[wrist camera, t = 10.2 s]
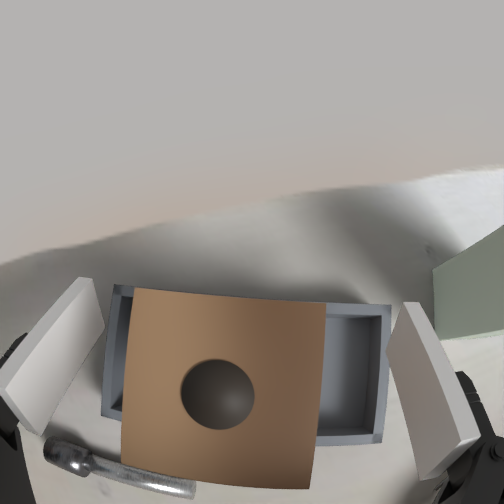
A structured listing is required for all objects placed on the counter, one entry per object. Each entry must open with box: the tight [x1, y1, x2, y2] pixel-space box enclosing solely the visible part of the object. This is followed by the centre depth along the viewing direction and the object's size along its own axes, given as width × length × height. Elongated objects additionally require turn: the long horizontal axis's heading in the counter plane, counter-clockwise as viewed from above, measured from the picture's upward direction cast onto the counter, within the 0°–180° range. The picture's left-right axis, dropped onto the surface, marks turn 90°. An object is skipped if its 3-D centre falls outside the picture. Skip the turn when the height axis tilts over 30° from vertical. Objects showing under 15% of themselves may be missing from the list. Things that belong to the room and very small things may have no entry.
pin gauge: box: [43, 436, 196, 500], centre depth 15 cm, size 10×2×2 cm, turn 85°
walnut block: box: [121, 288, 326, 489], centre depth 12 cm, size 5×5×11 cm
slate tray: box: [101, 284, 391, 446], centre depth 17 cm, size 16×8×3 cm, turn 85°
